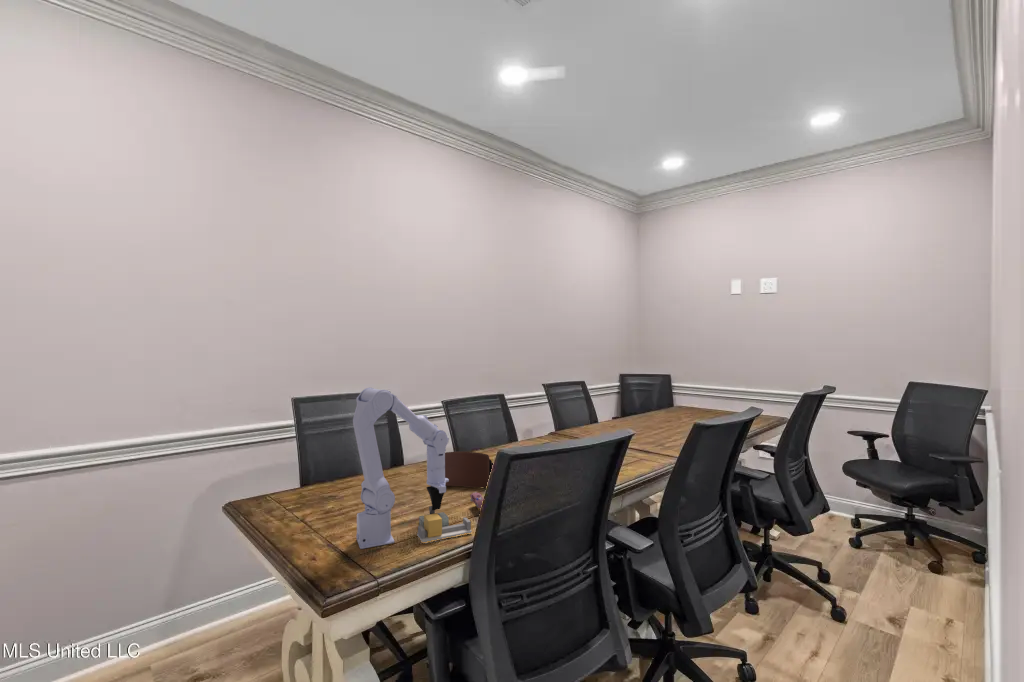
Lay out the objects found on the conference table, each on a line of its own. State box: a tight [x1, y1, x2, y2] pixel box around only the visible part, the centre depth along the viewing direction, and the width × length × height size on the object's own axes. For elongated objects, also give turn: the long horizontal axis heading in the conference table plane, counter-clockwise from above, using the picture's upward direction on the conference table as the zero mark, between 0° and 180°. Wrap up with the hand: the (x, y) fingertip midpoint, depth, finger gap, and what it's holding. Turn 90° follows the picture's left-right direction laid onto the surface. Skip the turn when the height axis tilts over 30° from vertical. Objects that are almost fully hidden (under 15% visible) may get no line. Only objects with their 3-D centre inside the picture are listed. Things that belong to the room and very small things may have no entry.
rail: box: [416, 517, 473, 542], centre depth 140 cm, size 15×6×3 cm, turn 116°
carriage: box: [423, 512, 442, 537], centre depth 138 cm, size 4×5×5 cm
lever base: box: [418, 512, 450, 528], centre depth 146 cm, size 8×5×3 cm, turn 116°
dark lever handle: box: [428, 505, 436, 514], centre depth 148 cm, size 5×2×2 cm, turn 16°
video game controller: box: [469, 491, 484, 511], centre depth 161 cm, size 10×5×7 cm, turn 21°
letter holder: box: [445, 450, 494, 489], centre depth 191 cm, size 10×20×14 cm, turn 79°
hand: (436, 509), depth 150 cm, fingers closed
